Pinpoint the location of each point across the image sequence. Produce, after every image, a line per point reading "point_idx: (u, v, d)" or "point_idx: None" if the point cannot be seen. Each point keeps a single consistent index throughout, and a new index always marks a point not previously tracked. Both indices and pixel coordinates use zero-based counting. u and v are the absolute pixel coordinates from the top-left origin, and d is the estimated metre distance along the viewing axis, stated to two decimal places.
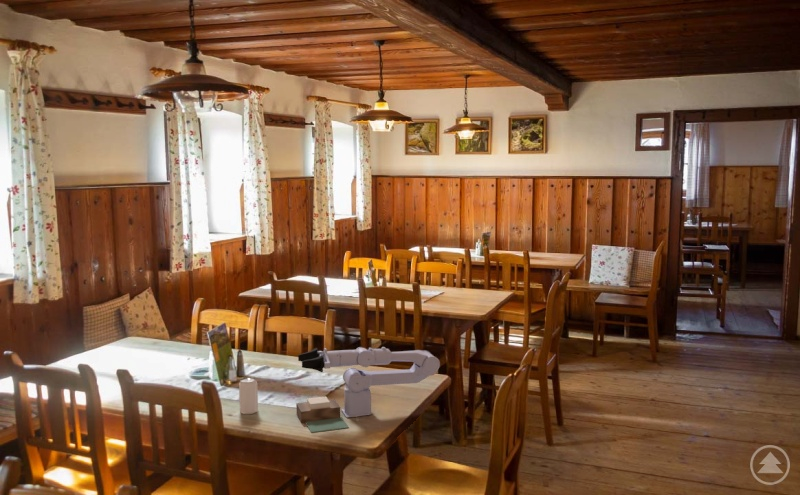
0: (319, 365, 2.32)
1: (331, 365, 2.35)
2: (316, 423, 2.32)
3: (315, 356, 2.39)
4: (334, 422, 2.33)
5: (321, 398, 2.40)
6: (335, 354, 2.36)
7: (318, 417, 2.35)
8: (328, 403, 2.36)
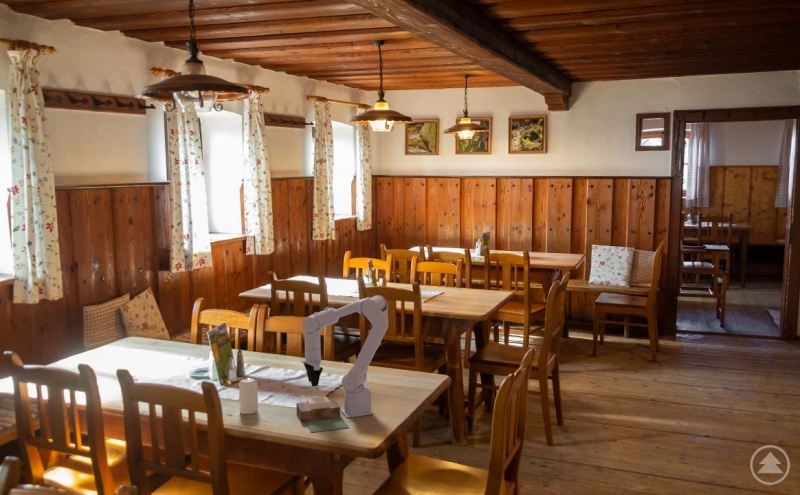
0: (316, 370, 2.42)
1: (318, 356, 2.43)
2: (316, 423, 2.32)
3: (311, 365, 2.47)
4: (334, 422, 2.33)
5: (321, 398, 2.40)
6: (307, 353, 2.42)
7: (318, 417, 2.35)
8: (328, 403, 2.36)
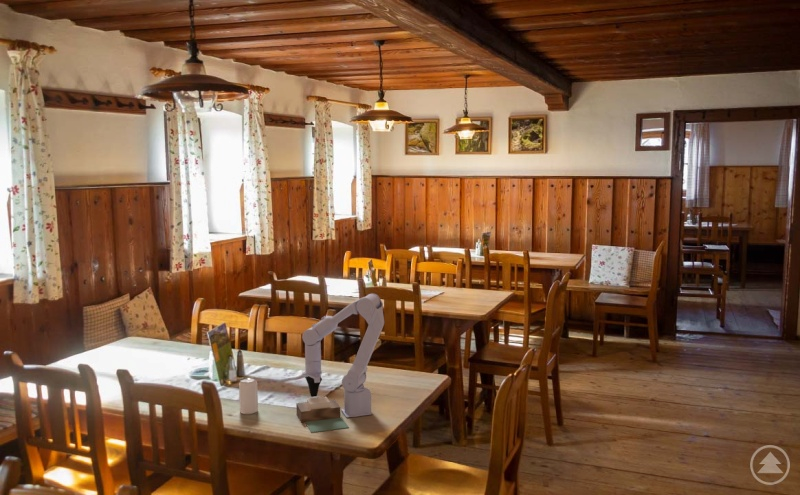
0: None
1: (318, 369, 2.43)
2: (316, 423, 2.32)
3: None
4: (334, 422, 2.33)
5: (321, 398, 2.40)
6: (308, 365, 2.42)
7: (318, 417, 2.35)
8: (328, 403, 2.36)
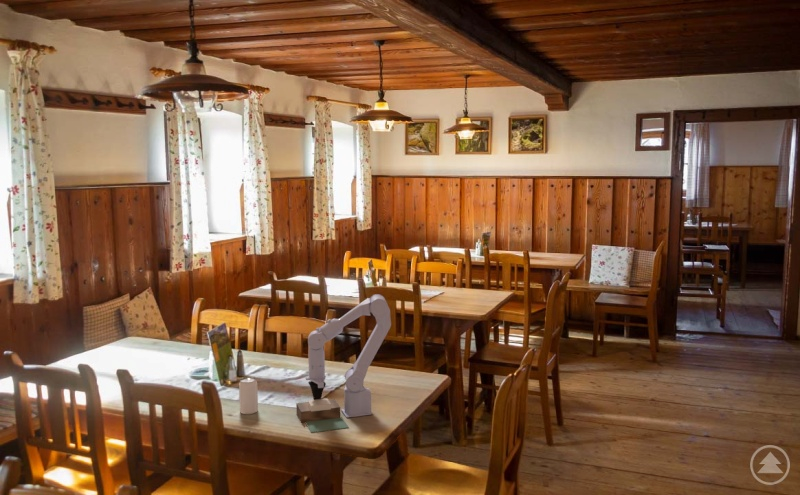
0: None
1: (322, 373, 2.37)
2: (316, 423, 2.32)
3: None
4: (334, 422, 2.33)
5: (322, 400, 2.38)
6: (311, 370, 2.36)
7: (318, 417, 2.35)
8: (329, 405, 2.34)
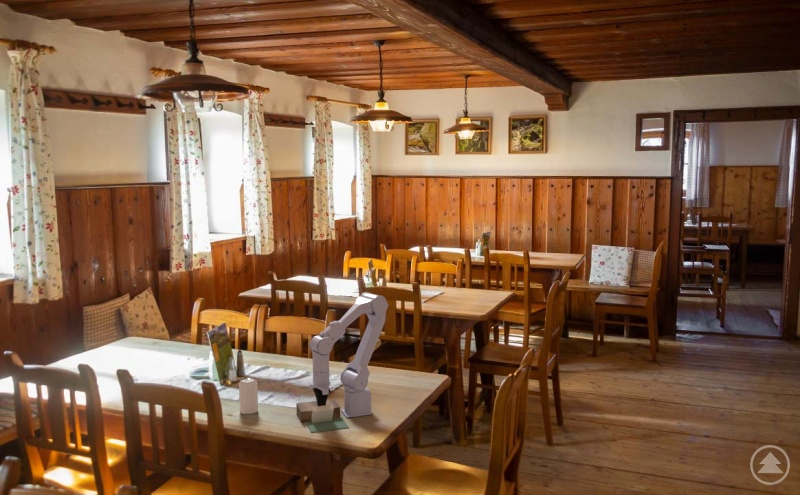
0: None
1: (327, 380, 2.30)
2: (316, 423, 2.32)
3: None
4: (334, 422, 2.33)
5: (327, 412, 2.31)
6: (316, 376, 2.29)
7: None
8: None
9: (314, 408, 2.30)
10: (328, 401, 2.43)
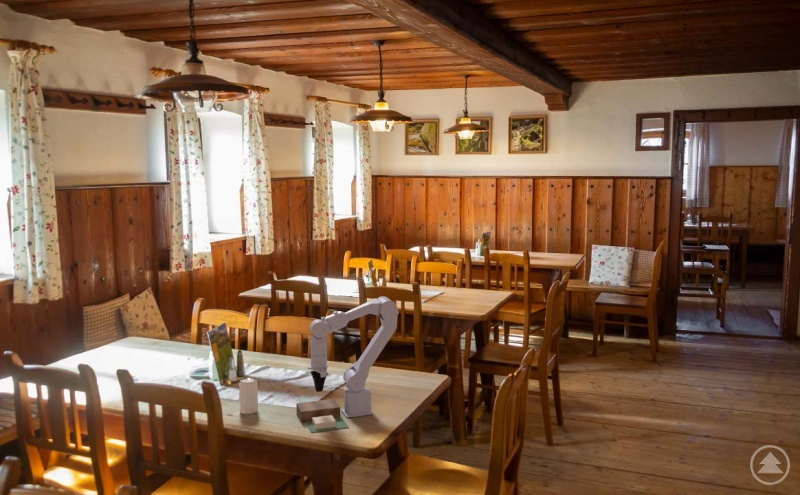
0: (321, 375, 2.36)
1: (324, 363, 2.35)
2: None
3: None
4: None
5: None
6: (314, 359, 2.34)
7: None
8: None
9: (317, 425, 2.26)
10: (328, 401, 2.43)
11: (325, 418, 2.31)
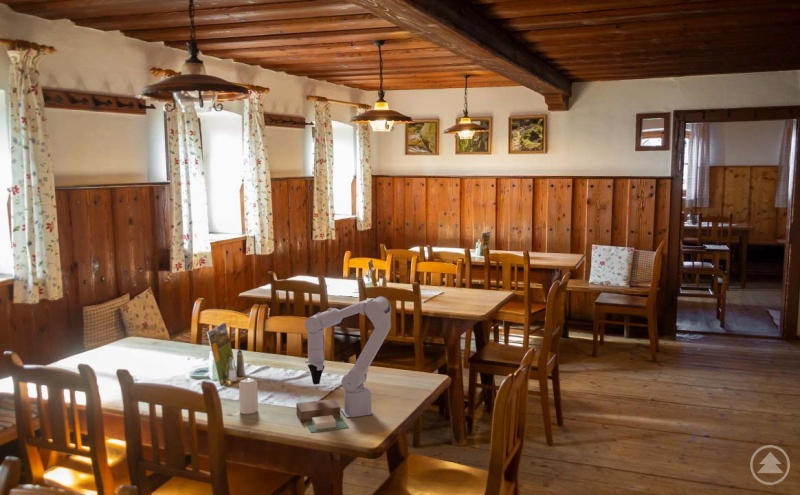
0: None
1: (321, 356, 2.43)
2: None
3: None
4: None
5: None
6: (310, 353, 2.42)
7: None
8: None
9: (317, 425, 2.26)
10: (328, 401, 2.43)
11: (325, 418, 2.31)
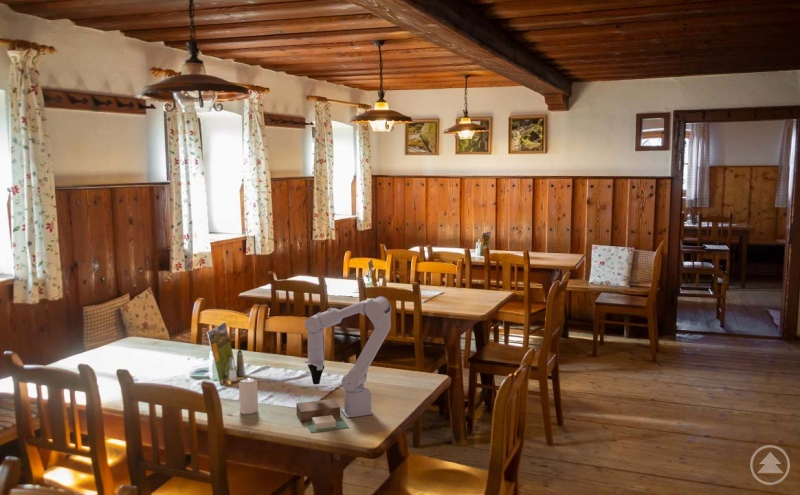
0: None
1: (321, 356, 2.43)
2: None
3: None
4: None
5: None
6: (310, 353, 2.42)
7: None
8: None
9: (317, 425, 2.26)
10: (328, 401, 2.43)
11: (325, 418, 2.31)
